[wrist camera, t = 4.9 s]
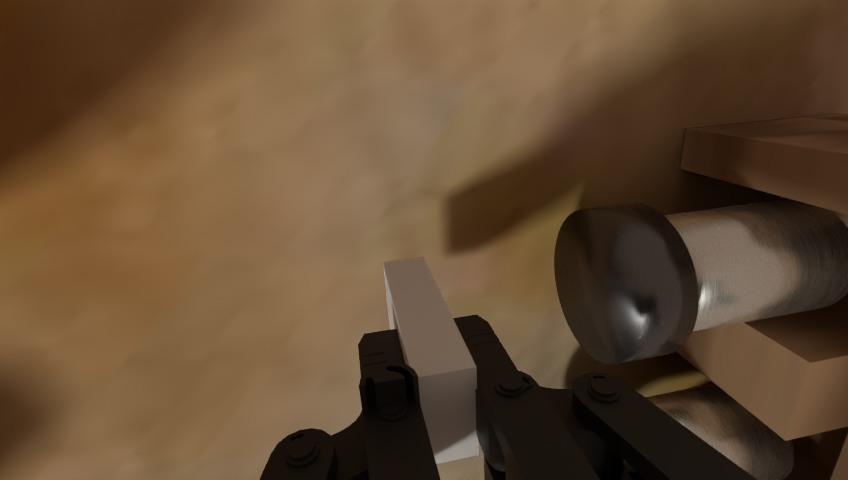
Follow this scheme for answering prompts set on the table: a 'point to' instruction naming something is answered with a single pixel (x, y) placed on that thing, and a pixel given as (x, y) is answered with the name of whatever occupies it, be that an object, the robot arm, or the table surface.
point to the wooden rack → (793, 333)
